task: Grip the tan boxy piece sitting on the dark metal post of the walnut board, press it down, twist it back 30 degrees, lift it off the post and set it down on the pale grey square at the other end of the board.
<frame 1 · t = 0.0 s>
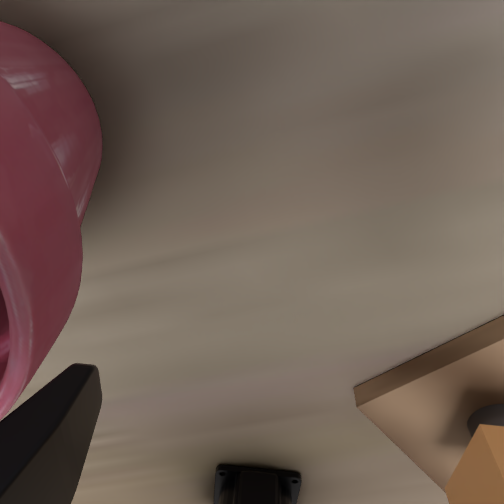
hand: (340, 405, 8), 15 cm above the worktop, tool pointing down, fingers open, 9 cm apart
plant pot: (11, 122, 21), on the worktop
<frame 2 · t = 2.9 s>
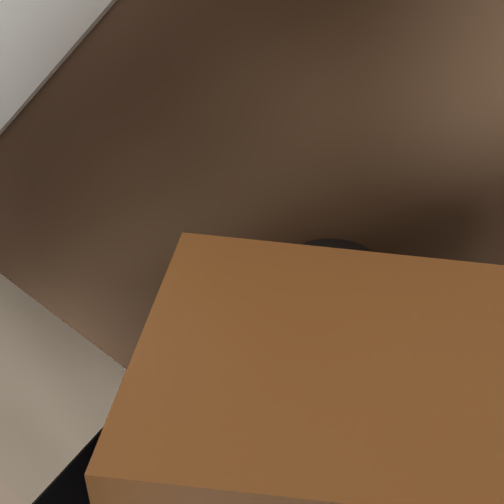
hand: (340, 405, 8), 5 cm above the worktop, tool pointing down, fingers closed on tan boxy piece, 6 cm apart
tan boxy piece: (338, 383, 9), point 4 cm above the worktop, touching gripper, post board
post board: (163, 85, 10), on the worktop
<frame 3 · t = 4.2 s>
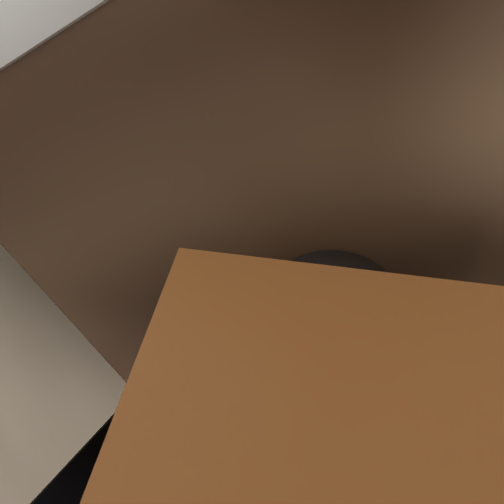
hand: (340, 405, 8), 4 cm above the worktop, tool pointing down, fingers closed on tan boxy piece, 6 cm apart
tan boxy piece: (340, 406, 8), point 4 cm above the worktop, touching gripper
post board: (210, 50, 9), on the worktop
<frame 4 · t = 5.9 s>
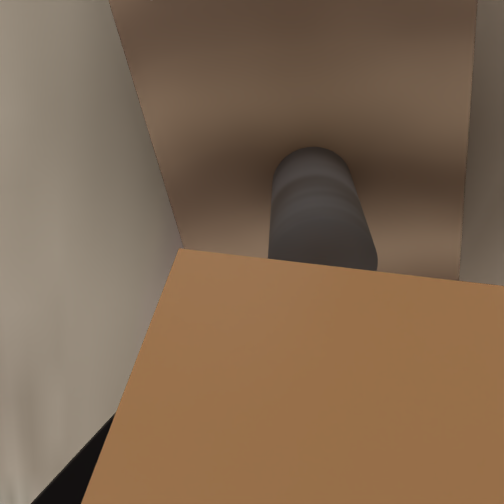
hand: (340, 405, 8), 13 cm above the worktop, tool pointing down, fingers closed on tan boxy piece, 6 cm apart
tan boxy piece: (340, 406, 8), point 13 cm above the worktop, touching gripper
post board: (291, 18, 16), on the worktop
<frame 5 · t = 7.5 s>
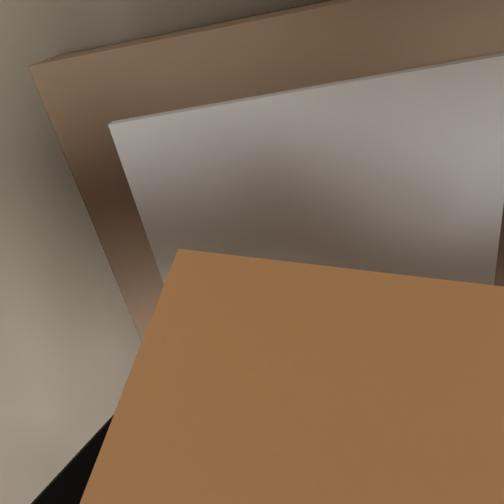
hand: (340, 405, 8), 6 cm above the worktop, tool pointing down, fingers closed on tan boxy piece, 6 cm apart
tan boxy piece: (341, 408, 8), point 7 cm above the worktop, touching gripper
post board: (334, 369, 17), on the worktop
when the fingers open (3 cm above the worktop, at t = 9.0 s): tan boxy piece drops 1 cm, resting on post board.
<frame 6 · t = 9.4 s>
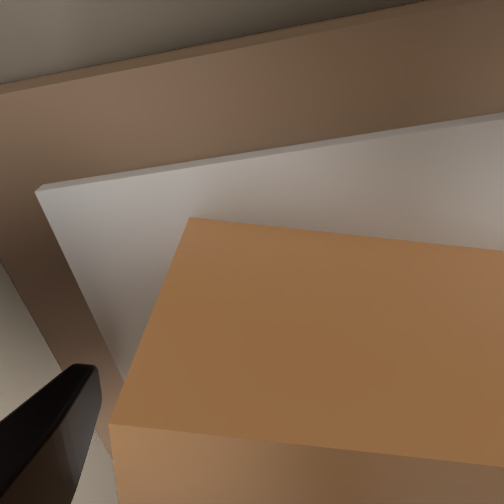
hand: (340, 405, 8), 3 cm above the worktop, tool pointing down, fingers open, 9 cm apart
tan boxy piece: (335, 365, 9), point 2 cm above the worktop, touching post board
post board: (345, 461, 14), on the worktop
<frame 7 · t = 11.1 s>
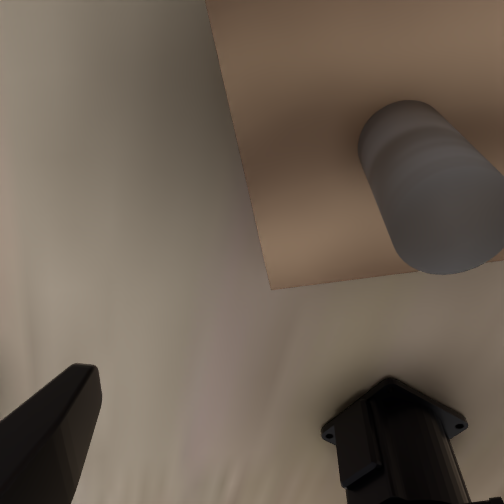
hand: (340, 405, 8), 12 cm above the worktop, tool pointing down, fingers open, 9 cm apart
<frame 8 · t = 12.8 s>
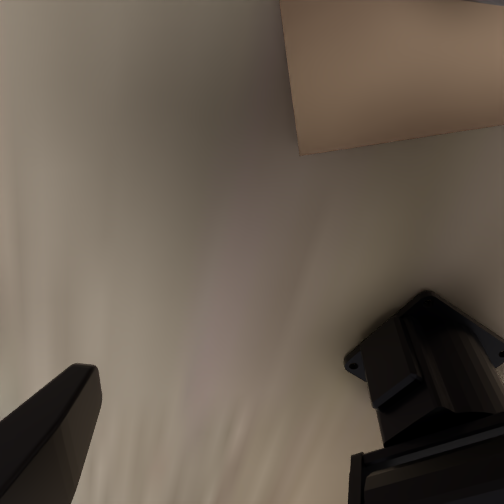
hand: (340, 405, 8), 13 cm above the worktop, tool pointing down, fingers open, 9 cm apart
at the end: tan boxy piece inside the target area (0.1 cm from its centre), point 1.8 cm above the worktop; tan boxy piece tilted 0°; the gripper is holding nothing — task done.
